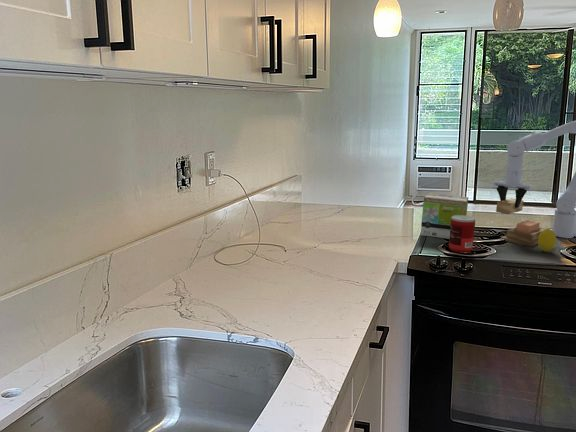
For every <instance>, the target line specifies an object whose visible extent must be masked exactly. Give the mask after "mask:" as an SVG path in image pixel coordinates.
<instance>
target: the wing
mask: <svg viewBox="0 0 576 432" xmlns="http://www.w3.org/2000/svg"><path fill="white" fill-rule="evenodd" d="M515 201H516V198H513V197H512V198H506V200H502V201H500V200H499V201H497V202H496V207H495V208H496V209H495V212H496V213H500V214H505V215H512V214H514V213H518V212H522V211H523V207H524V200H523V199H522V200H521V203H520V205H519V207H518V208H515Z"/></svg>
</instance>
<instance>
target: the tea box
mask: <svg viewBox="0 0 576 432" xmlns="http://www.w3.org/2000/svg"><path fill="white" fill-rule="evenodd" d="M468 204H469V196H463V195H462V196H460V195H452V194H442V193H441V194H439V193H430V192H428V193H427V194H426V195H425V196H424V197H423V203H422V212H421V213H422V214H421V223H420V236H421V237H425V236H426V237H433V238H439V239H447V240H449V239H450V227H451V218H452V216H455V215H464V216H468V215H467V213H468Z"/></svg>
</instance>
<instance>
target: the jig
mask: <svg viewBox="0 0 576 432" xmlns="http://www.w3.org/2000/svg"><path fill="white" fill-rule="evenodd" d="M546 229H547V228H545V227H540V226H539V230H537V231H534V232H532V233H524V232H519V231H516V227H514V228H511V229H507V230H506V235H504V236H501V237H500V240H501V239H504V240H505V241H504V240H503V241H504V242H509V243H513V244H518V245H523V246H528V247H533V246H536V245H538V236H539V234H540V233H541V232H542V231H543V230H546Z"/></svg>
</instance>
